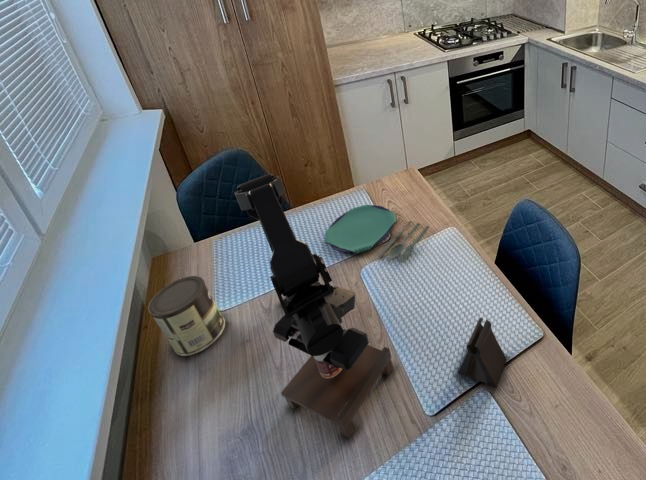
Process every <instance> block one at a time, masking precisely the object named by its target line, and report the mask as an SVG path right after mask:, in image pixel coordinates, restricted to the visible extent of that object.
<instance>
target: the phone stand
mask: <svg viewBox="0 0 646 480" xmlns="http://www.w3.org/2000/svg"><path fill="white" fill-rule="evenodd" d="M483 320H484V318H483V317H480V318H478V320H477V322H476V324H475V326H474V329H473V331H472V334H471V335H470V338H469V340H468V342H467V344H466V350H467V351H466V353H465V356H464V358H463V360H462V362H461V365H460V367H459V369H458V371H457V373H458V375H460V376H463V377H466V378H469V379H470V380H473V381H477V382H479V383H482V384H485V385H487V386H489V387H492V388H497V387H498V384H499V382H500V380H501V376H502V374H503V370H504V369H505V366H506V362H507V357H506V354H505V353H504V351H503V350H502V347H501V346H500V343H499V342H498V339H497V338H496V336H495V334H494V332H493V330H492V322H491V321H490V320H488V319H487V318H486V320H485V321H484V323H483V324H482V322H483Z"/></svg>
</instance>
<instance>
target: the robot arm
mask: <svg viewBox="0 0 646 480" xmlns="http://www.w3.org/2000/svg"><path fill="white" fill-rule="evenodd" d="M236 189H237V190H236V191H234V195H235V198H236V201H237V203H238V205H239V208H240V210H241V211H246V213H247V216H248V217H250V218H253V219H255V220H257V221H259V224H260V226H261V228H262V230H263V234H264V236H265V238H266V240H267V244H268V245H269V248H270V251H271V257H270V259H269V264H270V266H269V268H270V271H271V274H272V275H270V276H269V278H270V281H271V283H272V286H273V288H274V290H275V293H276V296H277V298H278V301H279V303H280V306H281V308H282V310H283V313H284V315H283V316H282V317H281V318H279V320H277V322H276V323H275V324H274V327H273V330H272V333H273V335H274V337H275V339H278V340H279V341H282V342H284V343H286V342H287V341H288V345H289V346H291V347H293V348H295V349H297V350H299V351H301V352H303V353H305V354H307V355H309V356H310V357H311V356H313V357H314V356H320V355H323V354H325V353H327V352H329V353H328V354H327V355H326V357H325V358H324V359H323V361H325V362H326V363H329V364H330V365H332V366H334V367H336V368H338V369H339V368H341V369H344V370H348V369H351V367H352V366H353V364H354V363H355V362H356V360H357V359H358V357H359V356H360V355H361V353H362V352H363V350H364V349H365V348H366V346H367V345H369V343H370V342H369V341H370V340H369V337H368V334H367V332H364V331H362V330H361V329H357V328H355V327H349V328H348V329H344V328H343V327H342V323H343V319H342V318H343V317H344V316H346V315H347V314H348V313H349V312H351V311H353V310H354V309H355V308H356V291H353V290H351V289H349V288H346V287H343V286H336V285H335V286H334V285H332V284H330V283H331V282H332V281H333V279H332V277H331V275H330V273H329V270H328V268H327V265H326V263H325V261H324V259H323V257H322V256H320V255H318V253H316V252H315V253H312V251H311V249H310V246H309V245H308V244H307V243H306V242H303V241H301V240H299V239H297V237H296V235H295V233H294V231H293V229H292V226H291V225H290V222H289V220H288V218H287V216H286V213H285V212H284V209H283V207H282V206H283V204H284V201H285V200H284V197H283V195H284V194H286V190H285V187H284V184H283V182H282V179H281V177H280V176H279V175H276V176H274V174H273V173H266V174H264V175H261V176H259V177H256V178H253V179H251V180H248V181H246V182H243V183H241V184H238V186H237V188H236ZM320 277H321V279H322V281H323V283H324V284H323V283H322V284H321V282H319V281H320ZM283 297H285V298H283Z"/></svg>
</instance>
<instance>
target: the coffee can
mask: <svg viewBox="0 0 646 480" xmlns="http://www.w3.org/2000/svg"><path fill="white" fill-rule="evenodd" d="M147 311H148V314H149V315H150V316H151V317H152V318H153V320H154V321H155V323H156V324H157V326H158V327H159V329H160V330H161V332H162V333H163V335H164V336H165V338H166V339H167V341H168V342H169V344H170V346H171V347H172V348H173V350H174V352H175V354H177V355H178V356H182V357H189V356H193V355H196V354H198V353H200V352H203V351H204V350H206V349H208V348H209V347H210V346H212V345H213V344H214V343H215V342H216V341H217V340H218V339H219V338H220V337H221V335H222V334H223V332H224V331H225V327H226V320H225V318H224V316H223V315H222V313H221V312H220V310H219V308H218V305H217V304H216V302H215V300H214V298H213V296H212V293H210V291H209V289H208V287H207V285H206V282H205V279H203V277H201V276H198V275H190V276H189V275H188V276H185V277H182V278H179V279H175V280H173V281H172V282H170V283H169V284H167V285H166V286H164V287H163V288H161V289H160V290H159V291H158V292H157V293H156V294H154V295H153V297H152V298H151V300H150V301H149V303H148V305H147Z"/></svg>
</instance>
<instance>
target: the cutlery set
mask: <svg viewBox="0 0 646 480" xmlns="http://www.w3.org/2000/svg"><path fill="white" fill-rule="evenodd" d="M397 221H398V220H397V218H396V213H394V211H391V210H390V209H389V208H387V207H385V206H383V205H376V204H371V205H370V204H363V205H360V206H356V207H353V208H350V209H349V210H347V211H345V212H344V213H343V214H341V215H340V216H338V217H337V218H336V219H335V220H334V221H333V222H332V223H331V225H330V226H329V227H328V228H327V229H326V231H325V233H324V243H328V244H329V246H330V247H331V248H332V249H334V250H335V251H336V252H337V251H338V252H342V253H355V254H360V253H363V252H367V251H370V250H371V249H372V248H373V247H375V246H376V245H378V244H379V243H381V242H382V241H383V240H385V239H386V238H387V237H388V235H390V233H391V231H392V230H393V228H394V224H395V223H397ZM410 224H412V220H409V222H408V223H407V224H406V225H405V226H404V228H402V229H401V230H400V231H399V232H397V234H396V235H395V236H394V238H393V239H392V240H390V242H389V243H387V245H385V247H384V248H383V250H382V251H381V252H380V257H382V256H383V255H384V254H385V253H386V252H387V251H388V250H389V249H390V247H391V246H392V245H393V244H394V243H395V242H396V241H397V240H399V239H400V237H401V236H402V234H403V232H405V230H407V229H406V228H408V226H409V225H410ZM420 226H421V224H420V223H419V222H417V223H416V224H415V225H414V226H413V228H412V229H411V230H410V231H409V233H408V234H407V235H406V237H405V238H404V240H403V241H402V243H398V244H396V245H394V246H393V247H392V248H391V249H390V250H389V252H388V256H387V258H388V259H393V258H396V257H398V256H399V255H400V254H401V253H402V252H403V253H402V254H401V255H400V257H399V259H398V260H397V262H399V263H401V264H402V263H404V262H405V260H406V259H407V258H408V257H409V256H410V255H411V254H412V253H413V249H414V247H415V246H416V245H417V244H418V242H419V241H420V240H421V238H423V236H424V235H425V233H426V232H427V231H428V230H429V229H430V228H429V227H430V226H429V225H425V227H424V228H423V230H422V231H421V232H420V234H419V235H418V237H417V238H416V239H415V240H414V241H413V242H412V244H410V245H409V246H407V247H406V249H404V244H405V243H406V242H407V240H408V239H409V238H410V237H411V235H412V234H413V233H414V232H415V231H416V230H417V229H418V227H420ZM403 250H404V251H403Z"/></svg>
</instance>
